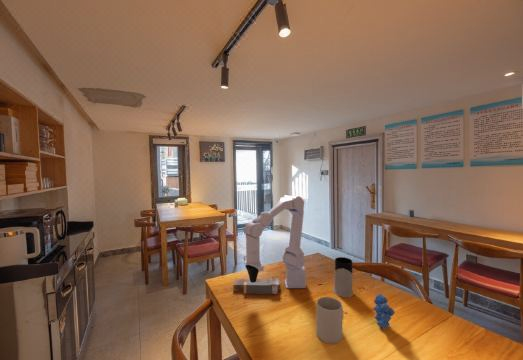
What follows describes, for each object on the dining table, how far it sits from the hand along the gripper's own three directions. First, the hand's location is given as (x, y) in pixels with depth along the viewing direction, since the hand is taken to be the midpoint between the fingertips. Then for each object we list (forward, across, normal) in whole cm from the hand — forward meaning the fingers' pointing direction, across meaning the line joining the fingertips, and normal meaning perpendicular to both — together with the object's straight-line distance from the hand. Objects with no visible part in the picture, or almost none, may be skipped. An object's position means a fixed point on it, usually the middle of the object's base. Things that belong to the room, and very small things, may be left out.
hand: (253, 281), depth 100 cm
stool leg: (+8, -4, +6) cm, 11 cm away
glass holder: (+9, +13, +42) cm, 44 cm away
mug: (+9, +31, +14) cm, 35 cm away
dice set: (+9, +24, +26) cm, 37 cm away
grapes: (+9, +39, +32) cm, 51 cm away
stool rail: (+8, -7, +6) cm, 13 cm away
